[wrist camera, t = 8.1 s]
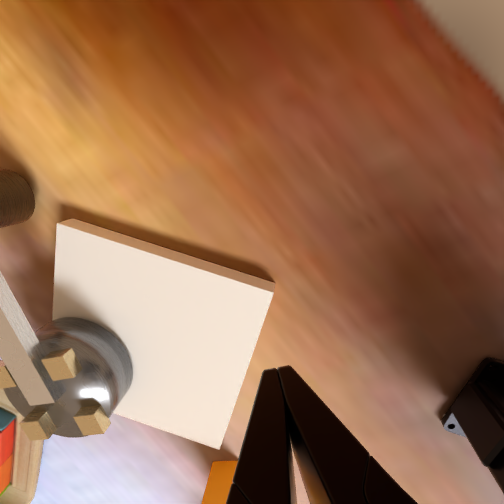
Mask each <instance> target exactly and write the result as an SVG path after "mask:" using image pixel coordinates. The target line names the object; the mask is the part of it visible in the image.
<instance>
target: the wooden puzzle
mask: <svg viewBox="0 0 504 504" xmlns="http://www.w3.org/2000/svg"><path fill="white" fill-rule="evenodd" d="M0 361H1V360H0ZM24 418H25V417H23V416H22V415H21V414H20V413H19V412H18V411H17V410H16V409H15V407H14V406H13V405H12V404H11V402H10V401H9V399H8V398H7V396H6V394H5V392H4V390H3V389H0V504H30V503H31V501H32V500H33V498H34V495H35V491H36V487H37V482H38V477H39V470H40V463H41V456H42V449H43V442H44V440H34V441H30V440H29V439H28V437H27V436H26V434H25V432H24V431H23V429H22V428H21V426H20V424H19V423H20V422H21V421H22V420H23V419H24Z"/></svg>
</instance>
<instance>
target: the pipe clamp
mask: <svg viewBox="0 0 504 504" xmlns="http://www.w3.org/2000/svg"><path fill="white" fill-rule="evenodd" d="M237 462H238V460H237V461H213V463H212V467H211V471H210V474H209V478H208V482H207V485H206V489H205V493H204V496H203V500H202V504H226V501H227V497H228V494H229V490H230V487H231V484H232V483H233V482H232V480H233V476H234V473H235V469H236V466H237Z"/></svg>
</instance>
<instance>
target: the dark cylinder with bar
mask: <svg viewBox="0 0 504 504" xmlns="http://www.w3.org/2000/svg"><path fill="white" fill-rule="evenodd" d="M34 208H35V200H34V195H33V192H32V190H31V188H30V186H29V185H28V183H27V182H26V181H25V180H24V179H23V178H22V177H21V176H20V175H18V174H17V173H15V172H13V171H11V170H7V169H0V228H2V227H6V226H10V225H14V224H18V223H21V222H24V221H26V220H28V219H29V218H30V217H31V216H32V214H33V212H34ZM0 357H1V358H2V360H1V361H0V389H3V390H4V392H5V394H6V396H7V398H8V399H9V401H10V402H11V404H12V405H13V406H14V407H15V409H16V410H17V411H18V412H19V413H20V414H21V415H22V416H23V417H25V418H24V419H23V420H22V421H21V422H20V423H19V424H20V426H21V428H22V429H23V431H24V432H25V434H26V436H27V437H28V439H29V440H30V441H34V440H44V439H49V438H50V437H51V435H52V434H56V435H59V436H64V437H84V436H88V435H94V434H104V433H105V431H106V430H107V428H108V427H109V425H110V424H111V422H110V420H109V417H110V416H111V414H112V413H113V411H114V410H115V409H116V407H117V406H118V404H119V403H120V402H121V400H122V399H123V397H124V396H125V394H126V393H127V392H128V390H129V388H130V386H131V384H132V380H133V367H132V363H131V360H130V357H129V355H128V353H127V351H126V349H125V348H124V347H123V345H122V344H121V343H120V341H119V340H118V339H117V338H116V337H115V336H114V335H113V334H112V333H110V332H109V331H108V330H106V329H105V328H103V327H102V326H100V325H98V324H96V323H94V322H91V321H89V320H86V319H82V318H76V317H64V318H59V319H55V320H53V321H51V322H49V323H48V324H46V325H45V326H44V327H42V328H41V329H39V330H38V331H36V332H35V333H34V331H33V329H32V328H31V326H30V324H29V322H28V320H27V318H26V317H25V315H24V313H23V311H22V309H21V308H20V306H19V304H18V302H17V300H16V299H15V297H14V295H13V293H12V291H11V289H10V288H9V286H8V284H7V282H6V280H5V279H4V277H3V275H2V273H1V271H0Z"/></svg>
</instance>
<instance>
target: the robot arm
mask: <svg viewBox="0 0 504 504" xmlns="http://www.w3.org/2000/svg"><path fill="white" fill-rule="evenodd" d="M491 365H493V366H492V367H490V366H491ZM441 422H442V425H443V427H444V429H445V430H447V431H449V432H452V433H455V434H458V435H461V436H464V437H467V439H468V440H469V442H470V444H471V445H472V447H473V449H474V450H475V452H476V454H477V455H478V457H479V459H480V461H481V462H482V464H483V465H484V466H486V467H488V469H489V470H490V472H491V474H492V475H493V477H494V479H495V480H496V482H497V483H498V485H499V487H500V488H501V490H502V492H503V493H504V361H501V360H498V359H495V358H486V359H484V360H483V361H482V363H481V364H480V366H479V367H478V368H477V370H476V371H475V373H474V374H473V376H472V377H471V379H470V380H469V381H468V383H467V384H466V386H465V387H464V389H463V390H462V392H461V393H460V394H459V396H458V397H457V399H456V400H455V402H454V403H453V405H452V406H451V407H450V409H449V410H448V412H447V413H446V415H445V416H444V417H443V419H442V421H441ZM290 440H291V441H290ZM291 444H292V448H293V452H294V455H295V458H296V461H297V464H298V468H299V471H300V474H301V477H302V480H303V483H304V486H305V489H306V492H307V495H308V498H309V502H310V504H418V503H417V502H416V501H415V500H414V499H413V498H412V497H410V496H409V495H408V494H407V493H406V492H405V491H404V490H403V489H402V488H401V487H400V486H399V485H398V484H397V483H396V481H395V480H394V479H393V478H392V477H391V476H390V475H389V474H388V473H387V472H386V471H385V470H384V469H383V468H382V467H381V465H380V464H379V463H378V462H377V461H376V460H375V459H374V458H373V457H372V456H370V454H369V452H368V451H367V450H366V449H365V448H364V447H363V446H362V445H361V443H360V442H359V441H358V440H357V439H356V438H355V437H354V436H353V435H352V433H351V432H350V431H349V430H348V429H347V428H346V427H345V426H344V425H343V423H342V422H341V421H340V420H339V419H338V418H337V417H336V416H335V415H334V413H333V412H332V411H331V410H330V409H329V408H328V407H327V406H326V405H325V403H324V402H323V401H322V400H321V399H320V398H319V397H318V396H317V394H316V393H315V392H314V391H313V390H312V389H311V388H310V387H309V386H308V384H307V383H306V382H305V381H304V380H303V379H302V378H301V377H300V376H299V374H298V373H297V372H296V371H295V370H294V369H293V368H292V367H291V366H289V365H288V366H283V367H278V369H276V368H272V369H267V370H264V371H263V373H262V376H261V380H260V383H259V387H258V390H257V394H256V398H255V401H254V405H253V408H252V412H251V415H250V419H249V423H248V426H247V430H246V433H245V437H244V441H243V444H242V448H241V451H240V455H239V458H238V462H237V466H236V469H235V473H234V476H233V480H232V482H233V483H232V484H231V487H230V490H229V494H228V497H227V501H226V504H297V498H296V487H295V477H294V466H293V456H292V448H291Z"/></svg>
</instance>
